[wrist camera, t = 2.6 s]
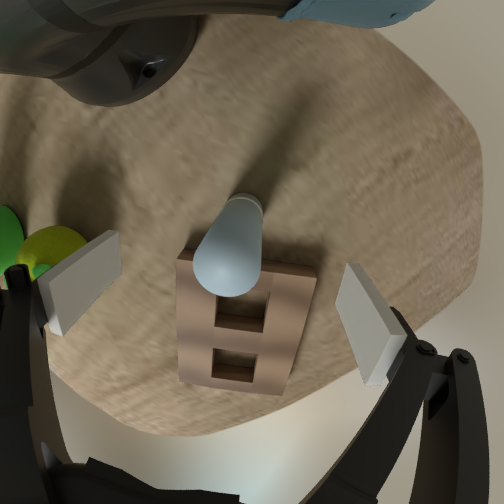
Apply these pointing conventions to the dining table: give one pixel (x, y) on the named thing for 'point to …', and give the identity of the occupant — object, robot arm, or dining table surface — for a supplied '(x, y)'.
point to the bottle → (9, 238)
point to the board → (242, 328)
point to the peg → (232, 248)
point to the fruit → (48, 249)
